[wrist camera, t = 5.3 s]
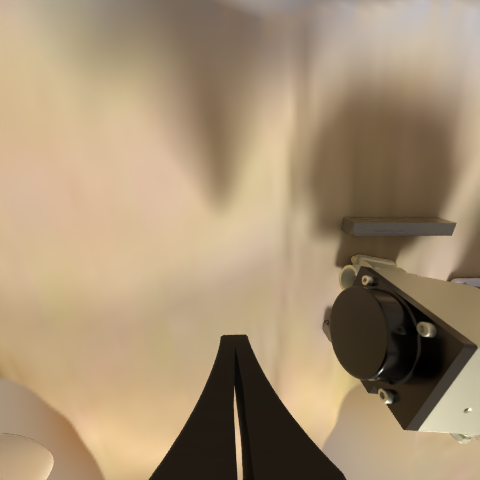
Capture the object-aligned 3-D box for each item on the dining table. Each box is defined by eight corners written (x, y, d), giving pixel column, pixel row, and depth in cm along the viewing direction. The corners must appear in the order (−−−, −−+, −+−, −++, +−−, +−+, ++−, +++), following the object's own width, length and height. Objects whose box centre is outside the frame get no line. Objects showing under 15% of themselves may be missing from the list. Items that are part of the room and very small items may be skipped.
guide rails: (438, 218, 18) (456, 222, 17) (401, 326, 22) (413, 338, 20) (343, 217, 17) (354, 222, 16) (322, 329, 21) (329, 341, 20)
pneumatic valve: (310, 236, 18) (463, 369, 6) (434, 259, 19) (729, 399, 8) (290, 294, 19) (383, 478, 8) (406, 311, 21) (614, 485, 10)
